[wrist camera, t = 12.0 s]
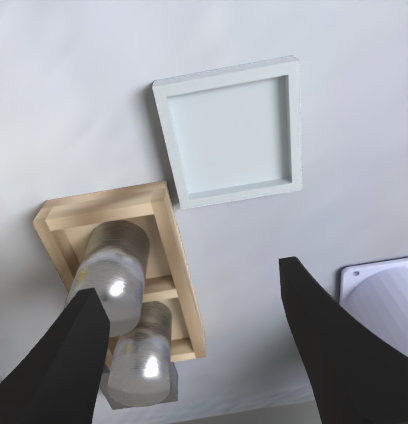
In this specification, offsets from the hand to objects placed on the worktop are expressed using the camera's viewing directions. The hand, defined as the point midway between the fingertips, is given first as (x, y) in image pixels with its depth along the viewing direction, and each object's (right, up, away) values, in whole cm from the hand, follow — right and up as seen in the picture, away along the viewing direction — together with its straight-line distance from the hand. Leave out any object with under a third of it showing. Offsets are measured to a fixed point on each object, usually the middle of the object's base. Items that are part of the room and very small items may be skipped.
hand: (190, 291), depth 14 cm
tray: (+2, +8, +8) cm, 11 cm away
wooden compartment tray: (-5, -2, +13) cm, 14 cm away
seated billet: (-4, -5, +14) cm, 16 cm away
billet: (-5, +1, +10) cm, 12 cm away
